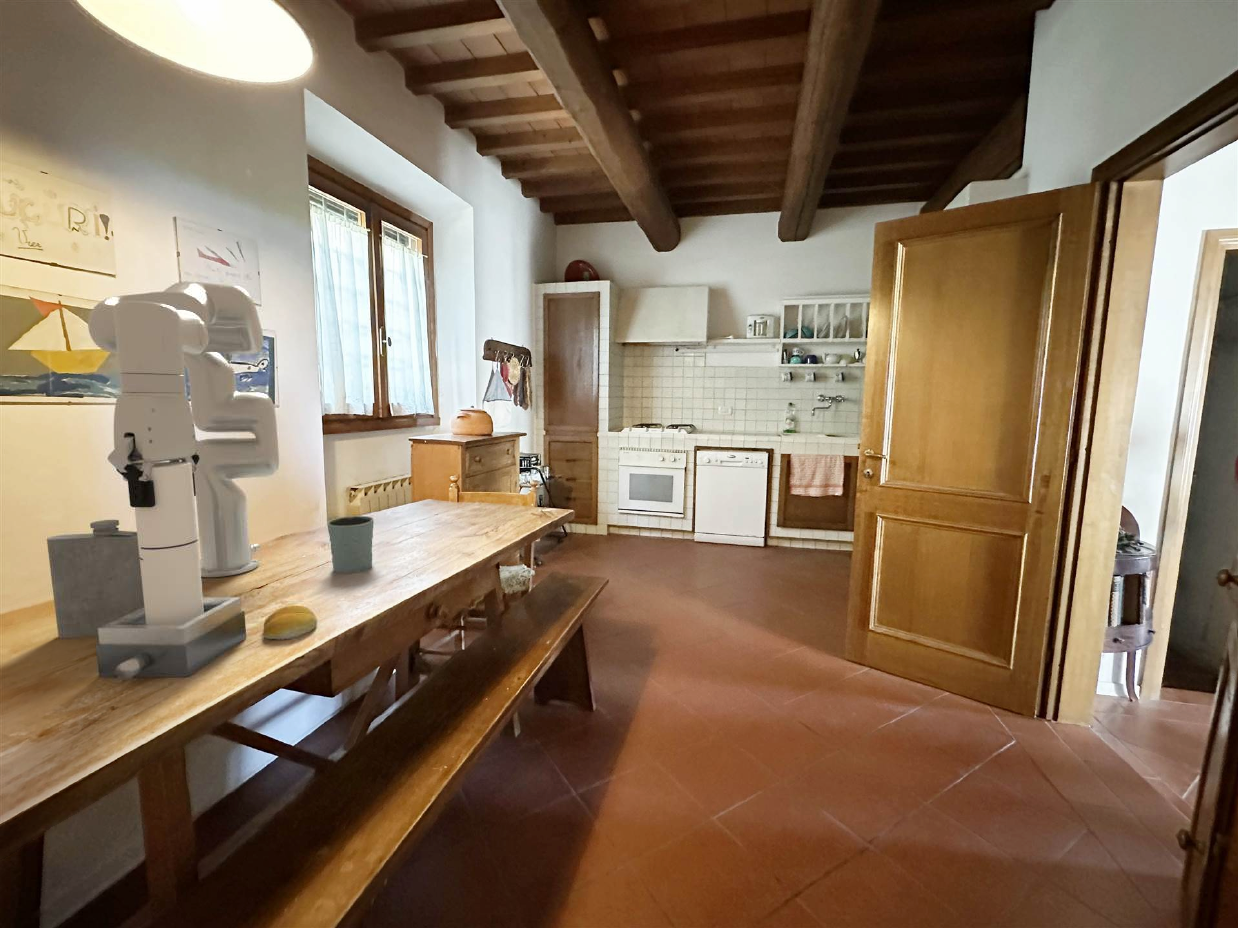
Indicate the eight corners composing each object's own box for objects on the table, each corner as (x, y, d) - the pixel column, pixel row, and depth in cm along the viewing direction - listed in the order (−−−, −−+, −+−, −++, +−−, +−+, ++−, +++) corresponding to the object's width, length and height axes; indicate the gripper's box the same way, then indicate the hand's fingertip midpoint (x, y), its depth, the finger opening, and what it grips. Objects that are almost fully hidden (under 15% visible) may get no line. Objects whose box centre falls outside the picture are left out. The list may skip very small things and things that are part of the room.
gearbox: (169, 637, 92) (166, 596, 91) (246, 638, 92) (243, 596, 91) (79, 687, 76) (73, 638, 75) (172, 687, 76) (167, 638, 75)
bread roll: (263, 646, 90) (261, 623, 89) (264, 626, 97) (263, 605, 97) (318, 635, 94) (317, 613, 94) (316, 617, 102) (315, 597, 101)
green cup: (368, 559, 138) (366, 513, 136) (381, 568, 130) (379, 521, 129) (324, 567, 131) (322, 519, 129) (336, 577, 123) (333, 527, 122)
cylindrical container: (171, 630, 81) (156, 468, 78) (133, 625, 82) (117, 466, 79) (215, 612, 88) (203, 462, 85) (180, 607, 89) (166, 460, 86)
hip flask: (53, 638, 91) (39, 525, 88) (73, 628, 95) (60, 519, 92) (157, 634, 93) (147, 523, 91) (172, 624, 97) (163, 517, 95)
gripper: (175, 387, 89) (184, 491, 91) (71, 385, 72) (86, 513, 74) (220, 388, 89) (228, 491, 91) (128, 386, 72) (141, 514, 74)
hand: (164, 500), depth 83 cm, fingers closed on cylindrical container, 7 cm apart
